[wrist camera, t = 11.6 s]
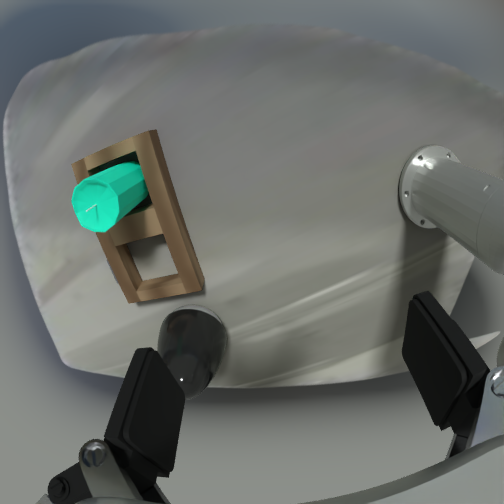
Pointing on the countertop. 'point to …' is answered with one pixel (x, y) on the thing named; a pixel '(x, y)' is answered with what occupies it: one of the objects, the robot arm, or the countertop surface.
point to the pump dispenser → (192, 347)
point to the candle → (109, 196)
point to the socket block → (146, 223)
